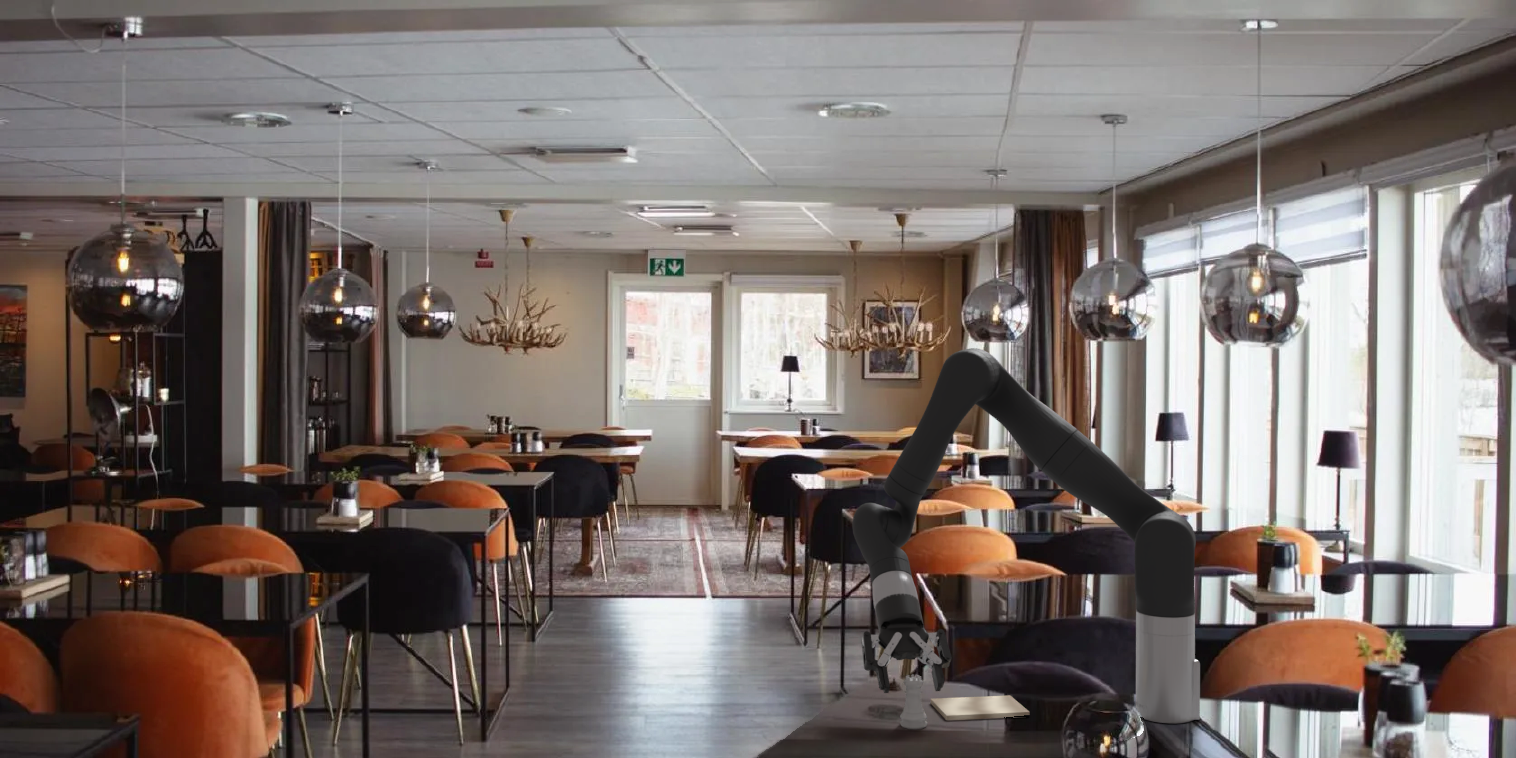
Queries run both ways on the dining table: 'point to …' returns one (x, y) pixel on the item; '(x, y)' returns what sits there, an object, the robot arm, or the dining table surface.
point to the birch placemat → (978, 707)
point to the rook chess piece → (913, 704)
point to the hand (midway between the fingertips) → (913, 689)
